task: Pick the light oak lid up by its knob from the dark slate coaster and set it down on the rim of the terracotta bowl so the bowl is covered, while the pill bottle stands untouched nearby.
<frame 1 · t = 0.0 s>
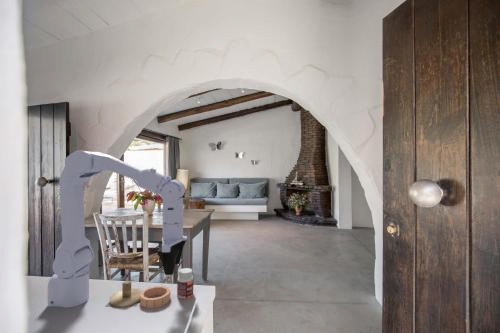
hand: (172, 268, 77), 10 cm above the table, tool pointing down, fingers open, 7 cm apart
bowl: (155, 303, 77), on the table
coaster: (127, 301, 78), on the table
lid: (126, 298, 78), point 1 cm above the table, touching coaster
pill bottle: (185, 298, 80), on the table
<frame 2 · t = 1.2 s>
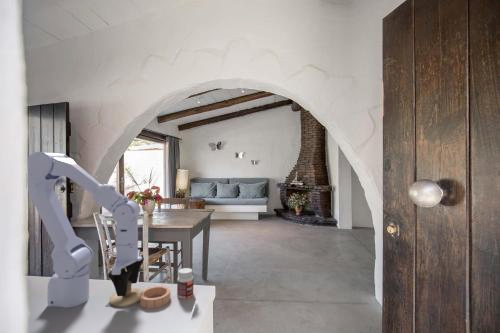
hand: (127, 289, 78), 4 cm above the table, tool pointing down, fingers open, 7 cm apart
nothing on the table moved.
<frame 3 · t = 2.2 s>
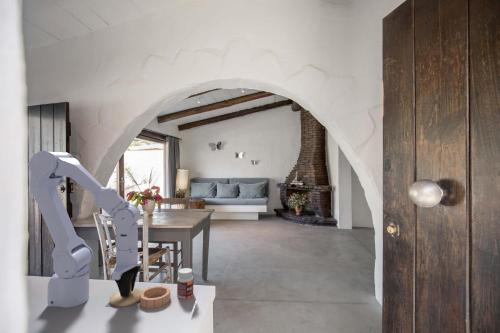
hand: (127, 293, 78), 2 cm above the table, tool pointing down, fingers closed on lid, 2 cm apart
lid: (126, 298, 78), point 1 cm above the table, touching coaster, gripper
everything else where it was.
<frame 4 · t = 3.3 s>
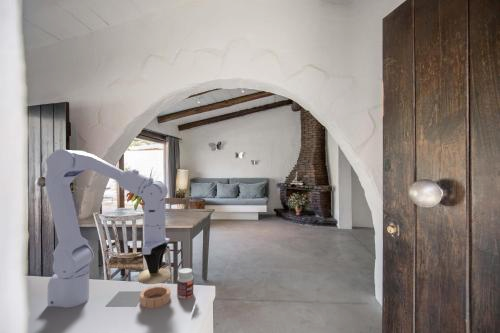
hand: (155, 270, 77), 9 cm above the table, tool pointing down, fingers closed on lid, 2 cm apart
lid: (154, 277, 77), point 8 cm above the table, touching gripper
everything else where it was.
when the fingers open (5 cm above the table, at t = 4.3 s): lid stays where it is, resting on bowl.
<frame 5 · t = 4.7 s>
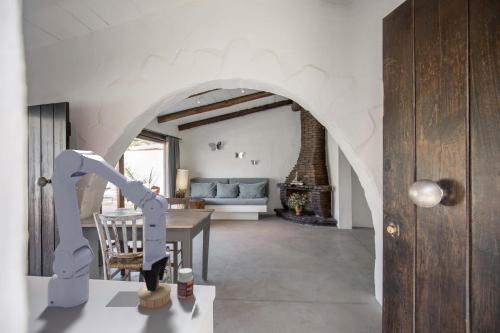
hand: (155, 284, 77), 5 cm above the table, tool pointing down, fingers open, 6 cm apart
lid: (154, 292, 77), point 3 cm above the table, touching bowl
everything else where it was.
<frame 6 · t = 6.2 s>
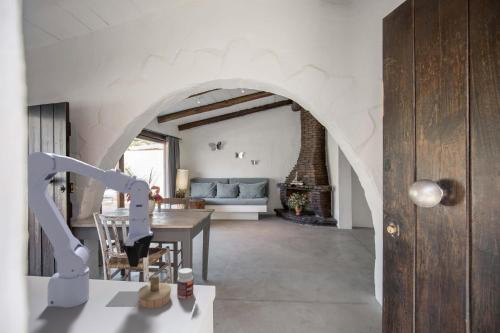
hand: (139, 261, 83), 10 cm above the table, tool pointing down, fingers open, 7 cm apart
nothing on the table moved.
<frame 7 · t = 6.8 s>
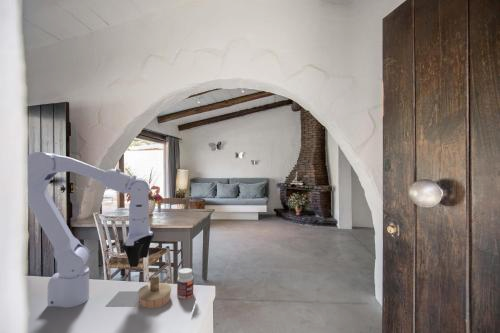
hand: (139, 261, 83), 10 cm above the table, tool pointing down, fingers open, 7 cm apart
nothing on the table moved.
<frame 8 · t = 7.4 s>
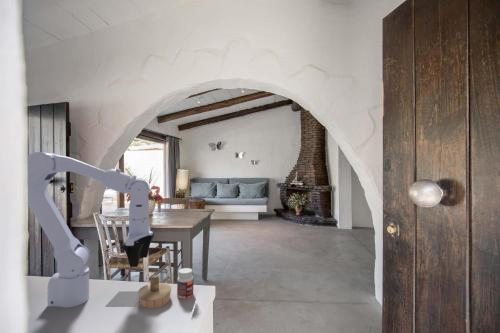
hand: (139, 261, 83), 10 cm above the table, tool pointing down, fingers open, 7 cm apart
nothing on the table moved.
at the end: lid 0.2 cm off-centre on the bowl, point 3.2 cm above the bowl's base; lid tilted 0°; the gripper is holding nothing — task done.
